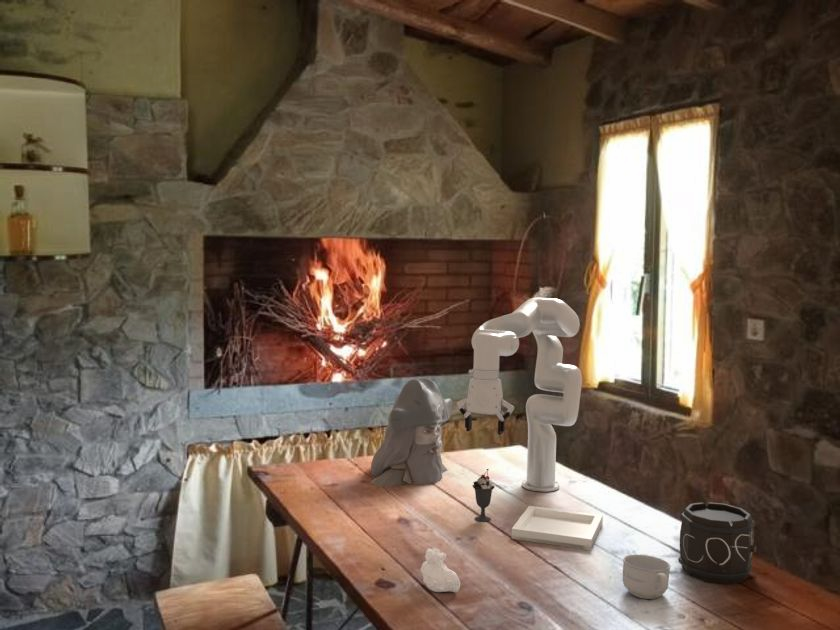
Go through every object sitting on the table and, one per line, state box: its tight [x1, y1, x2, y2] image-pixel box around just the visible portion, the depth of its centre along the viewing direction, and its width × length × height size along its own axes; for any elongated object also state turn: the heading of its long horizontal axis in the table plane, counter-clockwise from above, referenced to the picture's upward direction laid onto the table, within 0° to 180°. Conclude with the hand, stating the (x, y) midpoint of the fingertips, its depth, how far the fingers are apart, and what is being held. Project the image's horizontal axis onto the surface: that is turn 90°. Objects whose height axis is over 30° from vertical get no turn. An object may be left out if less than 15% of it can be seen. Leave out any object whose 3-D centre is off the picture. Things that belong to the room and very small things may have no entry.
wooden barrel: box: [678, 501, 758, 586], centre depth 211 cm, size 18×18×16 cm
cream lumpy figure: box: [419, 547, 461, 593], centre depth 198 cm, size 12×8×11 cm
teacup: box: [622, 554, 671, 600], centre depth 196 cm, size 14×11×8 cm
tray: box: [511, 505, 604, 551], centre depth 240 cm, size 22×22×3 cm
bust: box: [370, 377, 453, 488], centre depth 293 cm, size 34×34×35 cm
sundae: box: [472, 468, 495, 523], centre depth 249 cm, size 7×7×15 cm
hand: (484, 432), depth 247 cm, fingers open, 9 cm apart
